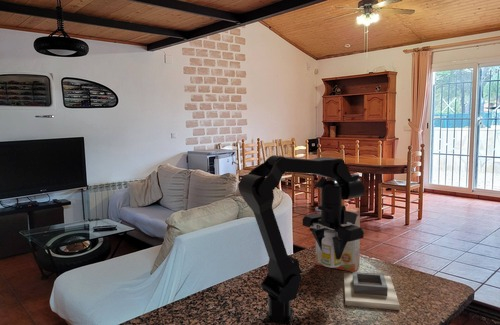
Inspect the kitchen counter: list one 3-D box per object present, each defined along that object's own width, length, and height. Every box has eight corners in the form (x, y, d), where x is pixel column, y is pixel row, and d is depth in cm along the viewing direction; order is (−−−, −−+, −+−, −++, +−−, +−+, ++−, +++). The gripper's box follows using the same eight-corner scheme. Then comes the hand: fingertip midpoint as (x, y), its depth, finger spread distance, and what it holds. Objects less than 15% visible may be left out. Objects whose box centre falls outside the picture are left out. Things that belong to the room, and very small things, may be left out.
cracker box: (360, 266, 128) (360, 207, 125) (354, 273, 123) (355, 211, 120) (321, 259, 135) (321, 203, 132) (315, 265, 130) (314, 206, 127)
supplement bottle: (339, 260, 108) (339, 228, 107) (342, 268, 103) (342, 234, 102) (320, 260, 109) (320, 228, 108) (322, 268, 104) (322, 234, 102)
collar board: (399, 310, 99) (399, 295, 99) (345, 305, 102) (345, 291, 102) (389, 280, 117) (390, 268, 116) (343, 277, 120) (344, 265, 119)
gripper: (378, 204, 100) (377, 259, 102) (328, 192, 116) (328, 241, 118) (348, 210, 94) (348, 269, 96) (301, 197, 110) (301, 248, 112)
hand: (331, 255), depth 106 cm, fingers closed on supplement bottle, 5 cm apart
